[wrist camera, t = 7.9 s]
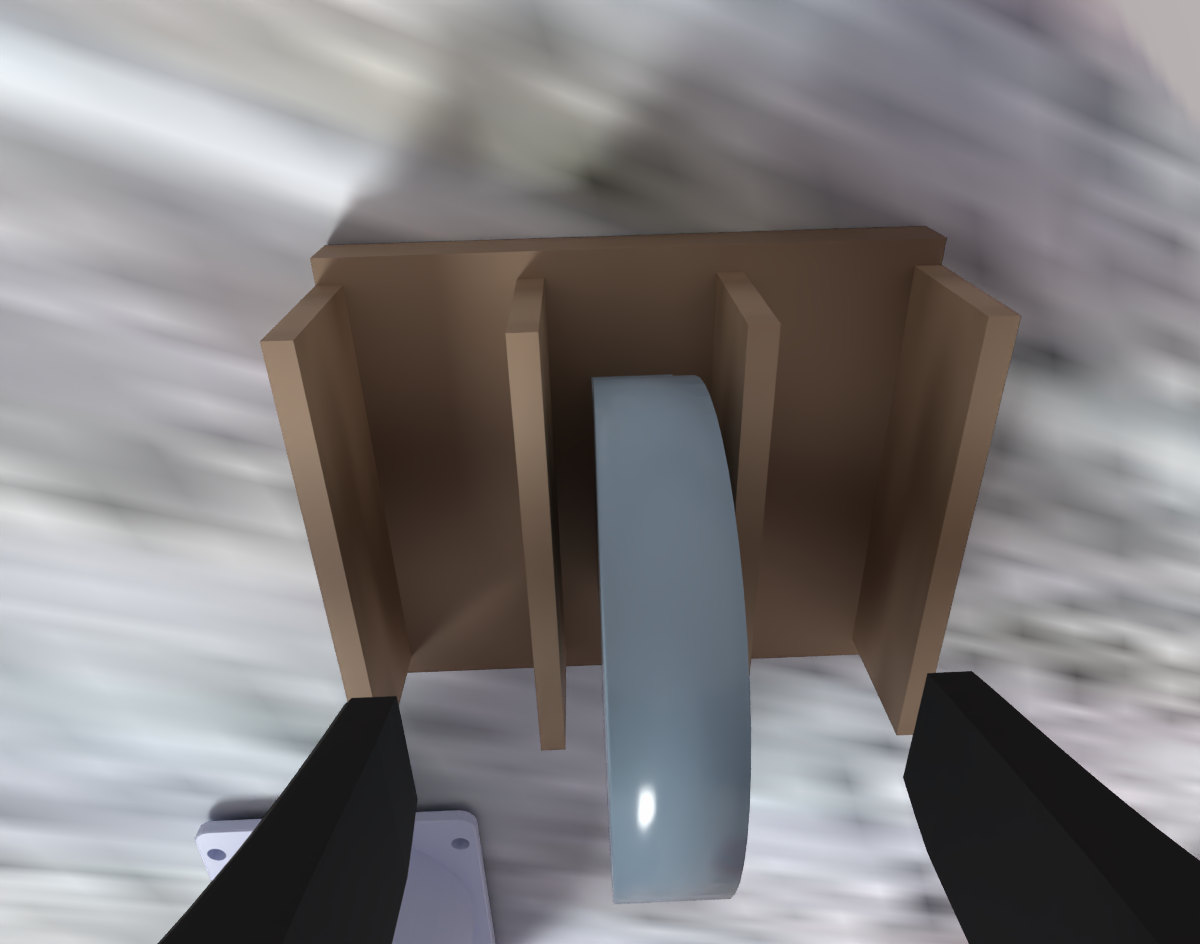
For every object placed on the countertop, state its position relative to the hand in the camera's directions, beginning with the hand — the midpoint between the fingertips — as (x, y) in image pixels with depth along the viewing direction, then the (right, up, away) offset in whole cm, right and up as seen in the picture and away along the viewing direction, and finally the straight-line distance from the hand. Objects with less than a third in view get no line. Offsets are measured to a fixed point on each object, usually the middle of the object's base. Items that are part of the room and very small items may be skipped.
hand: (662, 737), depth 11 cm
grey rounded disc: (0, +3, +6) cm, 7 cm away
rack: (0, +4, +7) cm, 8 cm away
